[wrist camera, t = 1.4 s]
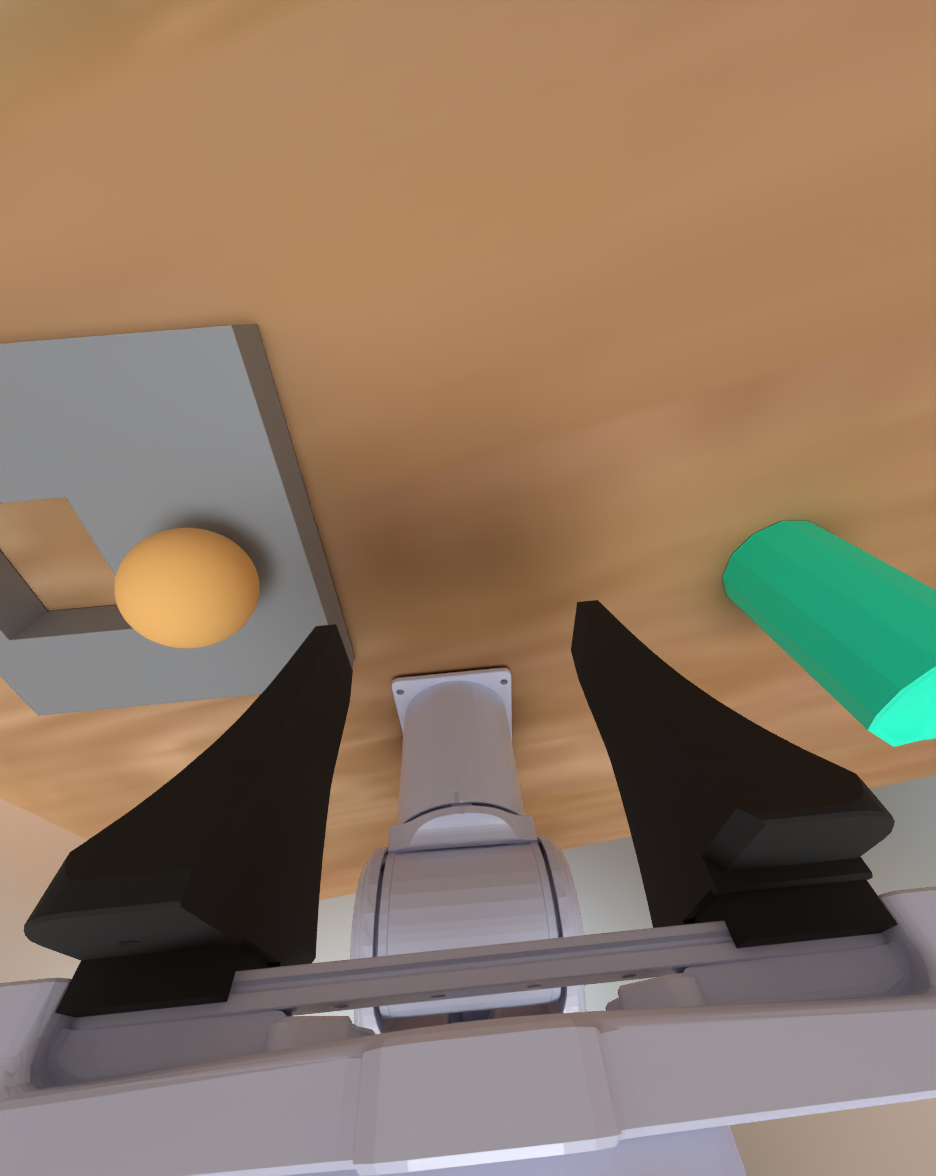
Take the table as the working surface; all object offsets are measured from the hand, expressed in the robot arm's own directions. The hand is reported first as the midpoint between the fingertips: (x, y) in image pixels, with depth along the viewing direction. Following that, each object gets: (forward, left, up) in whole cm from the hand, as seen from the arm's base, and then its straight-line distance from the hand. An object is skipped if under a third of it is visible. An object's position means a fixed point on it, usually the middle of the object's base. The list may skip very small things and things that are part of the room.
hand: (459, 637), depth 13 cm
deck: (-1, +16, -11) cm, 19 cm away
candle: (-6, -19, -11) cm, 23 cm away
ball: (-1, +11, -6) cm, 12 cm away
